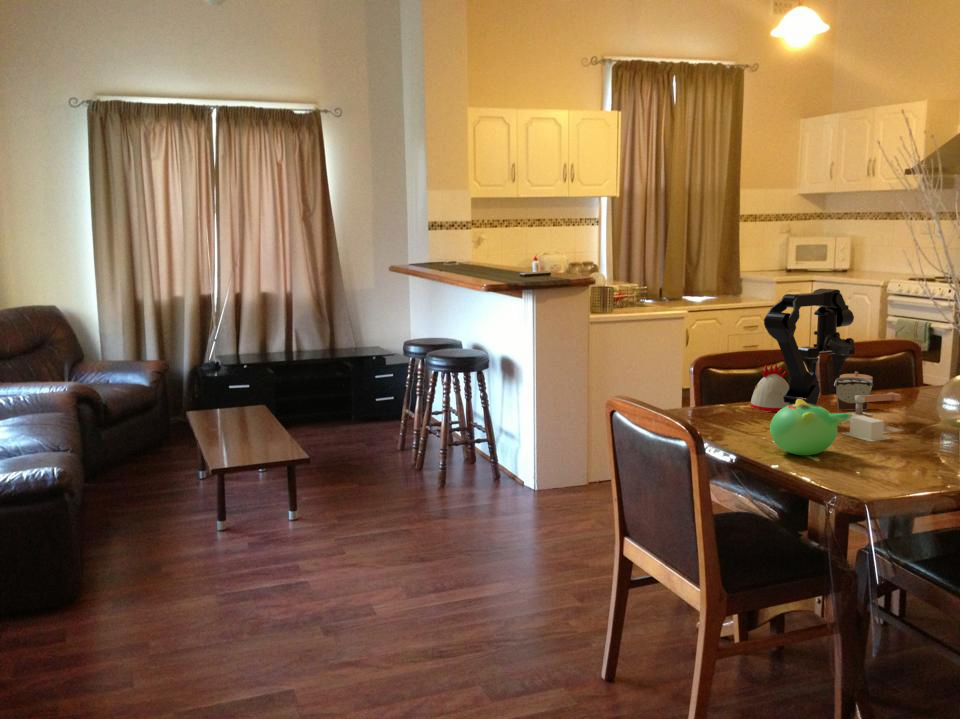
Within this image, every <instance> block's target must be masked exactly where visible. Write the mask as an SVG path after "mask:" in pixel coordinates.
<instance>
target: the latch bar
mask: <svg viewBox="0 0 964 719" xmlns="http://www.w3.org/2000/svg"><path fill="white" fill-rule="evenodd" d="M900 400H901V394H899V393H896V392H887V393H879V394H877V393H876V394H870V395H856V396H855V402H857V403H864V402H868V403H869V402H873V403H874V402H884V401H885V402H886V401H900Z"/></svg>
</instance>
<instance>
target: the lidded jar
mask: <svg viewBox="0 0 964 719" xmlns="http://www.w3.org/2000/svg"><path fill="white" fill-rule="evenodd" d="M843 377H856V378H865V379H870V380H872V381H873V378H874V377H873V376H871V375H868V374H862V373H861V374H860V373H859V371H854V373H843V374H840V375H839V378H843ZM872 387H873V386H871V390H870V392H871V391H872Z"/></svg>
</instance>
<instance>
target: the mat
mask: <svg viewBox="0 0 964 719" xmlns="http://www.w3.org/2000/svg"><path fill="white" fill-rule="evenodd" d="M841 434H843V435H847V436H849V437H853V438H856V439H860V440H862V441H867V442H870V443H871V442H878V441H886V440H892V438H891V437H887V436H884V435H883V438H879V439H872V440H870V439H867V438H863V437H860V436H856V435H853V434H850V431H846V432H841Z"/></svg>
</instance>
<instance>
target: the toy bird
mask: <svg viewBox="0 0 964 719" xmlns="http://www.w3.org/2000/svg"><path fill="white" fill-rule="evenodd" d="M802 399H803V398H802ZM802 399H797V400H796V403H795V404H792V405H788V406H786V407H784V408H782V409H781V410H779V411H778V412H777V413H774V415H773V417H772V419H771V421H770V423H769V424H770V425H769V432H770V437H771V439H772V441H773V443H774V444H775V445H776V446H777V447H778V448H779V449H780V450H782V451H784V452H786V453H789V454H793V455H796V456H812V455H817V454H819V453H822V452H824V451H825V450H827V449H828V448H829V447H830V446H832V444H833V443H834V442H835V440H836V438H837V436H838V425H840V424H841V423H843V422H845V420H847V419H849V418H850V417H851V416H852V414H851V412H841V413H831V411H829V410H827V409H826V408H824V407H823V406H820V405H817V404H816V405H815V404H809V403H806V402H805V401H804V400H802Z"/></svg>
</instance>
